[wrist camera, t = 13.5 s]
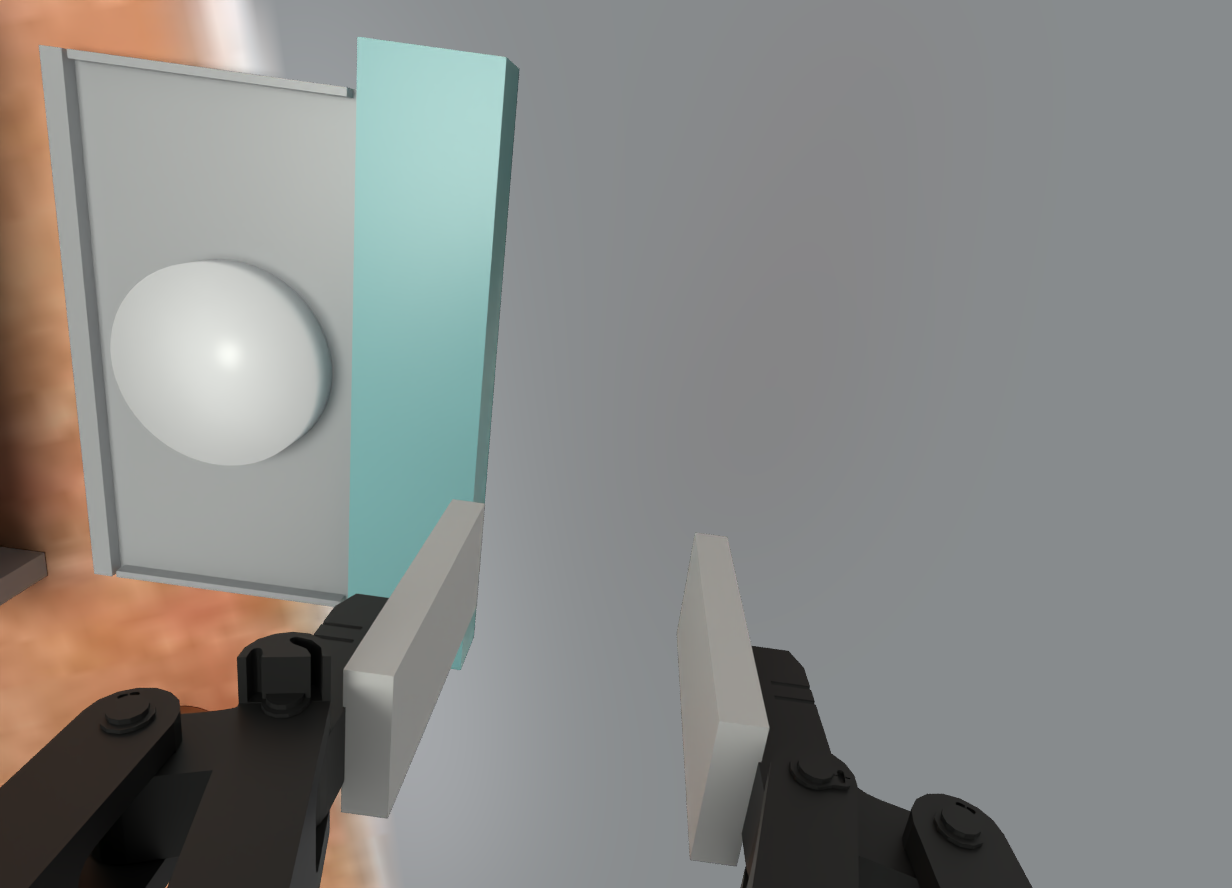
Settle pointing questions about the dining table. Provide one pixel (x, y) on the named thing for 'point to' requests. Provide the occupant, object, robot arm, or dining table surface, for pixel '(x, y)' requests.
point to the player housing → (19, 571)
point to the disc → (220, 361)
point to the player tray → (319, 273)
